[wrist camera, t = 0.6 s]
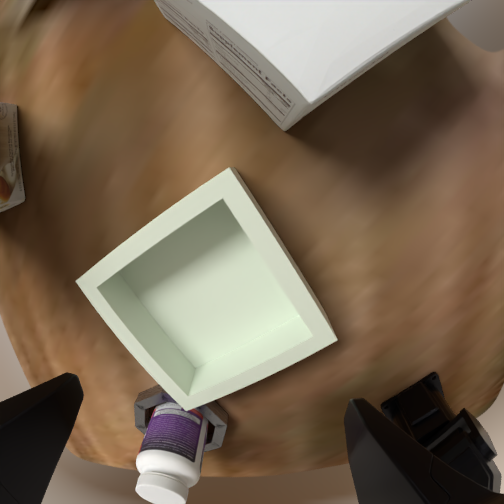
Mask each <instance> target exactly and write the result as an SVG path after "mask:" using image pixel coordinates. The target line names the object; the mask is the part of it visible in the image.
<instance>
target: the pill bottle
mask: <svg viewBox="0 0 504 504" xmlns="http://www.w3.org/2000/svg"><path fill="white" fill-rule="evenodd" d="M207 431H208V419H207V418H206V417H205V416H204V415H203V414H202V413H201V412H200V411H198V410H197V409H196V408H193V409H191V410H188V411H185V410H184V409H183V408H182V407H181V406H180V405H179V404H175V403H171V402H167V401H165V402H163V403H160V404H158V405H157V406H156V407H155V409H154V412H153V414H152V417H151V420H150V422H149V425H148V428H147V431H146V433H145V436H144V439H143V442H142V445H141V447H140V450H139V453H138V456H137V459H136V466H137V469H138V471H139V472H140V473H141V475H140V477H139V478H138V482H137V485H136V492H137V493H138V494H139V495H140V496H141V497H142V498H144V499H146V500H148V501H149V502H152V503H154V504H185V503H186V500H187V496H188V488H189V487H192V486H194V485H195V484H196V483H197V482H198V480H199V478H200V473H201V467H202V461H203V455H204V449H205V443H206V437H207Z"/></svg>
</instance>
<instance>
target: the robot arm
mask: <svg viewBox="0 0 504 504" xmlns="http://www.w3.org/2000/svg"><path fill="white" fill-rule="evenodd" d="M83 396H84V394H83V390H82V387H81V384H80V381H79V378H78V376H77V375H75V374H72V373H64V374H62V375H60V376H58V377H55V378H53V379H51V380H49V381H47V382H44V383H42V384H40V385H38V386H36V387H33V388H31V389H29V390H27V391H24V392H22V393H20V394H18V395H16V396H13V397H11V398H9V399H6V400H4V401H2V402H0V504H41V502H42V500H43V497H44V495H45V492H46V490H47V487H48V485H49V482H50V480H51V477H52V475H53V473H54V470H55V468H56V465H57V463H58V461H59V458H60V456H61V454H62V452H63V450H64V447H65V445H66V443H67V441H68V439H69V437H70V434H71V432H72V429H73V427H74V424H75V421H76V418H77V415H78V412H79V409H80V406H81V403H82V401H83ZM381 409H382V411H383V413H384V414H385V416H384V415H383V414H382V413H381V412H380V411H378V410H377V409H376V408H375V407H373V406H372V405H371V404H370V403H369V402H367V401H366V400H365V399H363V398H354V399H351V400H350V401H349V404H348V407H347V410H346V413H345V417H344V425H345V433H346V442H347V450H348V459H349V464H350V468H351V472H352V477H353V480H354V485H355V489H356V493H357V497H358V502H359V504H504V494H501V493H500V485H501V473H500V471H499V470H498V468H497V466H496V465H495V463H494V461H493V460H492V459H493V458H494V457H495V456H497V452H496V450H495V448H494V446H493V444H492V441H491V439H490V437H489V435H488V433H487V432H486V431H485V430H484V428H483V427H482V425H481V424H480V422H479V421H478V420H477V419H476V418H475V417H474V416H473V415H472V414H471V413H469V412H468V411H467V410H466V409H465V408H463V409H462V410H461V411H460V413H459V414H458V415H457V416H456V415H455V414H454V412H453V411H452V409H451V408H450V406H449V405H448V403H447V402H446V401H445V398H444V394H443V391H442V387H441V383H440V380H439V376H438V374H437V373H436V372H432V373H430V374H429V375H427V376H426V377H424V378H423V379H421V380H420V381H418V382H417V383H415V384H414V385H412V386H410V387H409V388H407V389H406V390H404V391H402V392H401V393H399V394H397V395H396V396H394V397H392V398H390V399H389V400H387V401H385V402H384V403H382V404H381Z"/></svg>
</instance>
